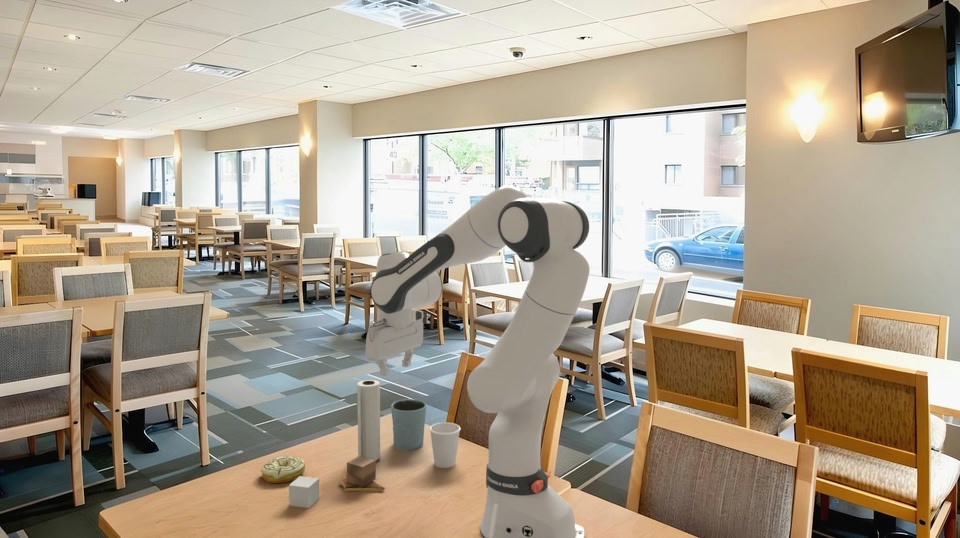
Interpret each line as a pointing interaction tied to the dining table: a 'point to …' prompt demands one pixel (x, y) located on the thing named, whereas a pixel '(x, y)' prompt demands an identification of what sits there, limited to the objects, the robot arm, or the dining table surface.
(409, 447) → the teal plant pot
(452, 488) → the dining table surface
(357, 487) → the shard
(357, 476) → the walnut cube
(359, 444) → the paper towel roll
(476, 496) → the dining table surface
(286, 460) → the decorated donut
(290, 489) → the grey cube
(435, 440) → the dixie cup
